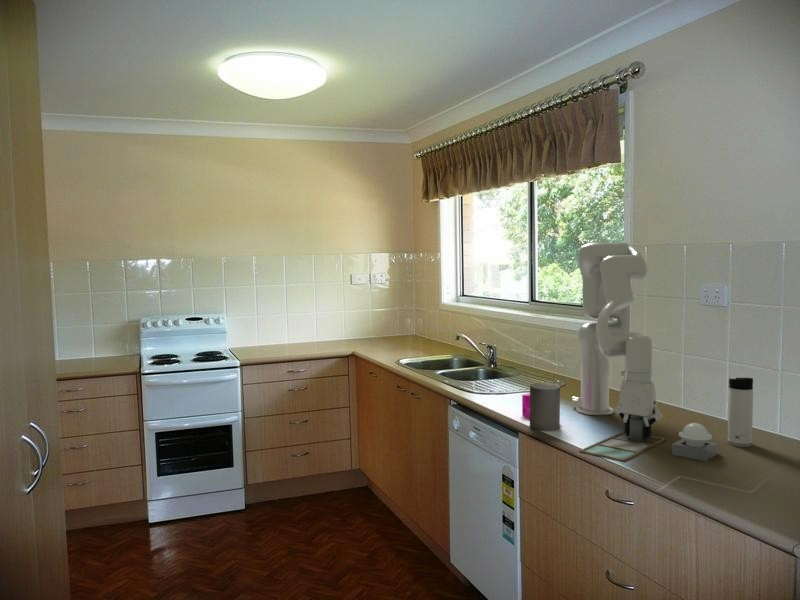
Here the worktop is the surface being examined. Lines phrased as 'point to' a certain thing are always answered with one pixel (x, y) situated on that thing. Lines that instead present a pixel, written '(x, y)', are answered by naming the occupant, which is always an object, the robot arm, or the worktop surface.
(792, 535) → the worktop surface
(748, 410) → the travel mug
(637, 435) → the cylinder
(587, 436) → the worktop surface
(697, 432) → the dome
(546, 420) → the pillar candle
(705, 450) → the collar
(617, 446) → the brown flat rectangular frame
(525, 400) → the toy block
